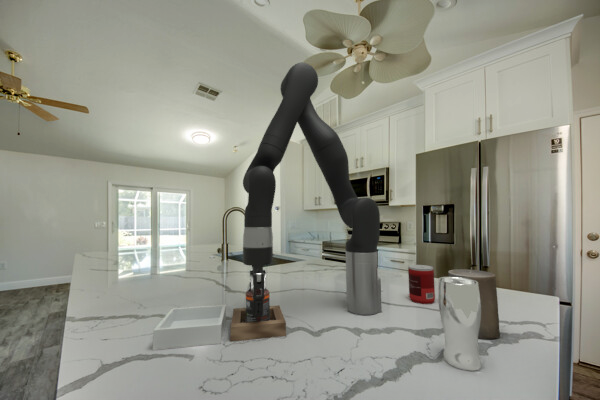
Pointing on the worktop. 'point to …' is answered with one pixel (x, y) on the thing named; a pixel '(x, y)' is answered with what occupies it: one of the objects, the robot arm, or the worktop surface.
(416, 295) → the canned food
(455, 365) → the beer glass
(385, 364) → the worktop surface
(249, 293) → the supplement bottle
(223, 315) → the grey tray
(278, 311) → the walnut collar
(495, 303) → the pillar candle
